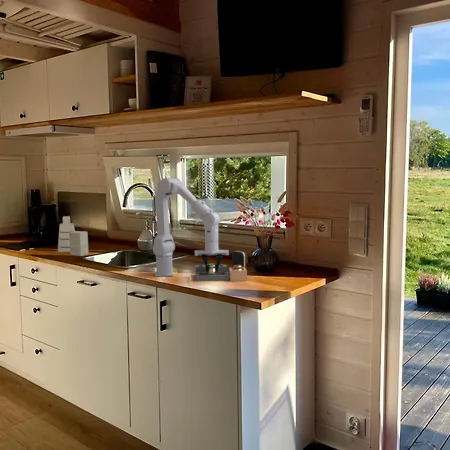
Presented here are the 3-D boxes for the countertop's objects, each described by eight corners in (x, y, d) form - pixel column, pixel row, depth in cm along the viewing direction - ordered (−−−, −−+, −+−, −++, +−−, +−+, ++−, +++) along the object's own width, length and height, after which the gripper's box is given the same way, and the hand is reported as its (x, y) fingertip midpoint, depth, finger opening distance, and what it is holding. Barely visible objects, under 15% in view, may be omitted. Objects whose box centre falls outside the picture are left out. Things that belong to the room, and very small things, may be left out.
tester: (195, 276, 221) (195, 263, 220) (226, 275, 222) (226, 263, 221) (196, 282, 208) (195, 269, 207) (229, 282, 209) (228, 269, 208)
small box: (88, 254, 278) (87, 231, 276) (80, 256, 272) (79, 232, 271) (77, 253, 281) (76, 230, 280) (69, 255, 276) (68, 232, 274)
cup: (228, 278, 215) (228, 267, 214) (244, 278, 216) (244, 267, 215) (230, 282, 208) (230, 271, 208) (246, 282, 209) (246, 270, 208)
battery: (249, 276, 219) (249, 251, 218) (243, 278, 216) (243, 252, 215) (237, 274, 224) (237, 249, 222) (231, 275, 221) (231, 250, 220)
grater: (57, 252, 285) (56, 217, 283) (59, 249, 296) (57, 216, 293) (76, 251, 288) (75, 217, 286) (77, 248, 298) (76, 215, 296)
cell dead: (233, 278, 213) (233, 264, 213) (241, 278, 214) (241, 264, 213) (233, 280, 210) (233, 266, 209) (242, 280, 210) (242, 266, 209)
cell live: (207, 277, 215) (207, 263, 214) (216, 276, 215) (216, 263, 214) (207, 279, 211) (207, 265, 210) (216, 278, 211) (216, 265, 210)
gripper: (194, 242, 206) (195, 273, 208) (229, 241, 208) (229, 273, 209) (194, 239, 213) (195, 270, 215) (227, 239, 215) (228, 269, 216)
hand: (211, 271), depth 213 cm, fingers closed on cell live, 4 cm apart
